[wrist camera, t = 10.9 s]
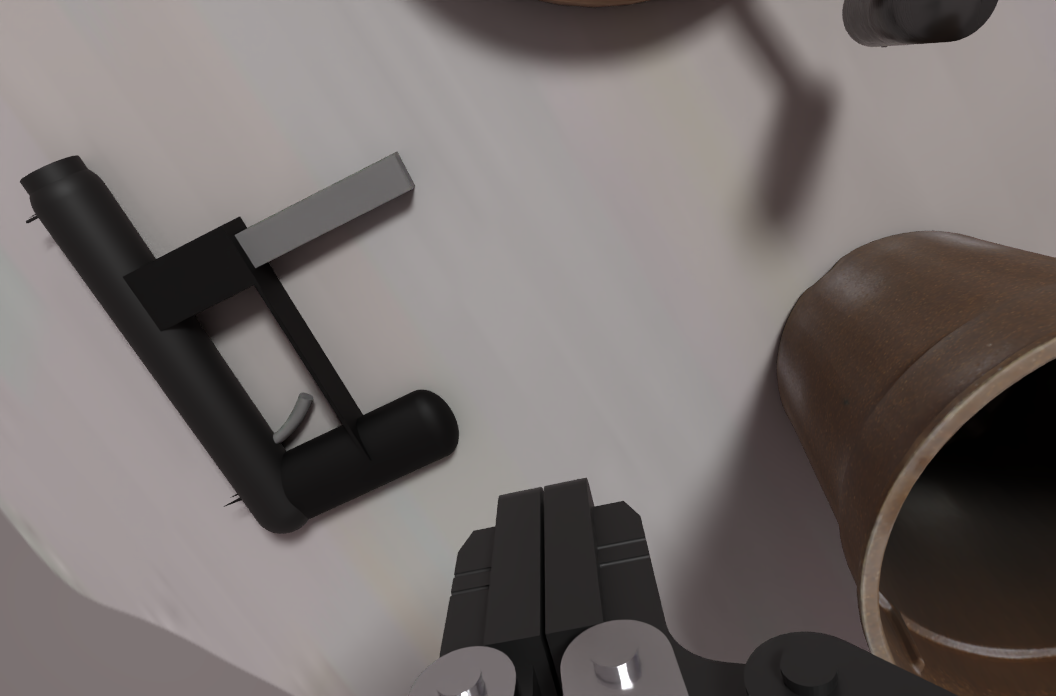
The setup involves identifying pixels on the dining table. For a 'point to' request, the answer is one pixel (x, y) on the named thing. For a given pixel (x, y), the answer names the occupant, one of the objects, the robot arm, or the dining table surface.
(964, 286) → the plant pot
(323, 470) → the door handle
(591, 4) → the dial base
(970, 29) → the dial
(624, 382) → the dining table surface
